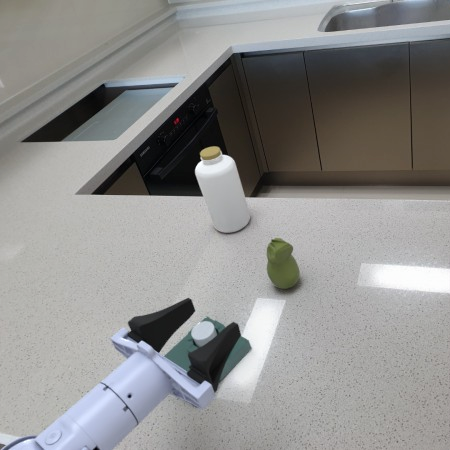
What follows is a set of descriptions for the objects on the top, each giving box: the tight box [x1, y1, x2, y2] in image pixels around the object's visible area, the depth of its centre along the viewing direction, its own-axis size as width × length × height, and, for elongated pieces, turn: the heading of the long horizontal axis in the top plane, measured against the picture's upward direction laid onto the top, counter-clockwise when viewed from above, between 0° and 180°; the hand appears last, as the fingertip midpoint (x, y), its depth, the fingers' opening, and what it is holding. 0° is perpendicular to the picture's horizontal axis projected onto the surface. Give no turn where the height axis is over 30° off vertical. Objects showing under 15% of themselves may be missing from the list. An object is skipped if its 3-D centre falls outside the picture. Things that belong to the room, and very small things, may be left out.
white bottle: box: [194, 145, 251, 234], centre depth 96 cm, size 8×8×18 cm
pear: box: [266, 237, 301, 290], centre depth 80 cm, size 6×5×10 cm
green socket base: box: [163, 316, 252, 383], centre depth 71 cm, size 12×10×4 cm
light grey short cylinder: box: [191, 321, 218, 347], centre depth 71 cm, size 4×4×2 cm
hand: (213, 315), depth 54 cm, fingers open, 7 cm apart
